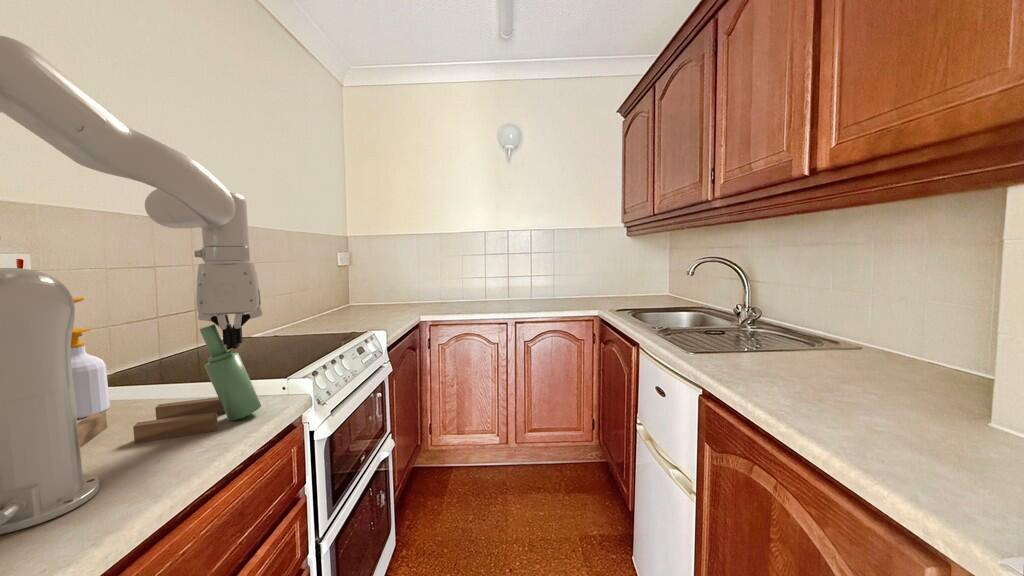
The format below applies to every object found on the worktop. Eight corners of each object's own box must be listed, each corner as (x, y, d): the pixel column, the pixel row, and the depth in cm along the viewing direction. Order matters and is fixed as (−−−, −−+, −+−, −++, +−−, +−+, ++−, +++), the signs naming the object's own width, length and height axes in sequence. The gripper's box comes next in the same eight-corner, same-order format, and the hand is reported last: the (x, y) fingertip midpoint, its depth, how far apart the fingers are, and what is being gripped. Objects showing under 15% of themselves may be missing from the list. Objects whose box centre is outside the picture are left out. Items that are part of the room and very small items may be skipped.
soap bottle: (79, 421, 85) (66, 300, 83) (35, 421, 85) (21, 300, 83) (121, 405, 94) (111, 295, 92) (81, 405, 94) (70, 296, 92)
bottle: (258, 411, 84) (220, 323, 81) (225, 424, 82) (184, 334, 79) (263, 401, 90) (227, 319, 86) (232, 413, 88) (194, 329, 84)
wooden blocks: (215, 430, 79) (214, 415, 79) (59, 453, 71) (57, 436, 71) (229, 409, 90) (228, 395, 90) (96, 427, 82) (95, 412, 82)
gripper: (173, 256, 77) (181, 355, 78) (267, 255, 82) (273, 347, 84) (187, 256, 84) (194, 347, 85) (273, 255, 89) (278, 340, 91)
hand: (233, 347), depth 85 cm, fingers closed
